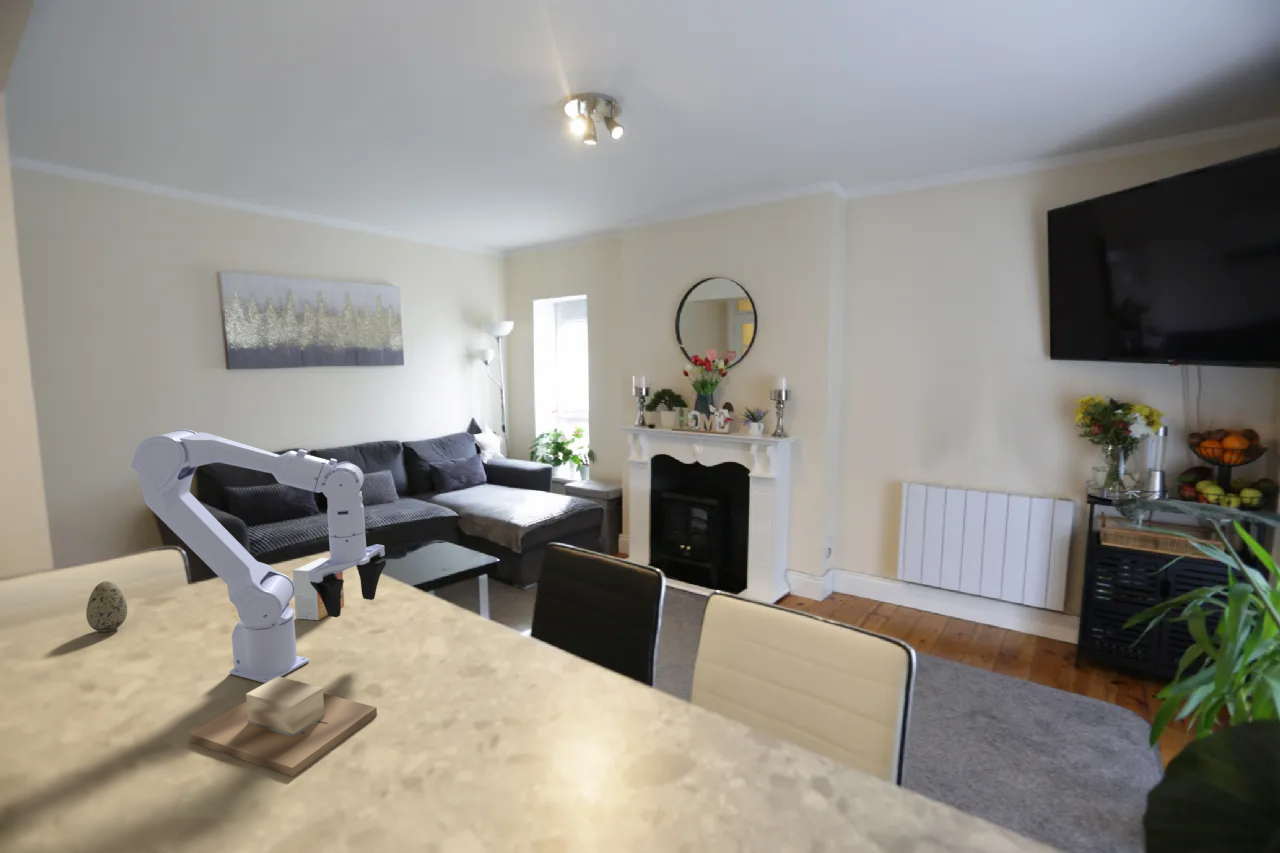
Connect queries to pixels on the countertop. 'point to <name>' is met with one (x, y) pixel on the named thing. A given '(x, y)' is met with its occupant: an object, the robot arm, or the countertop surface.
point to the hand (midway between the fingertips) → (352, 607)
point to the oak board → (283, 735)
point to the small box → (310, 593)
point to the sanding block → (285, 706)
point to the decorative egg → (106, 607)
